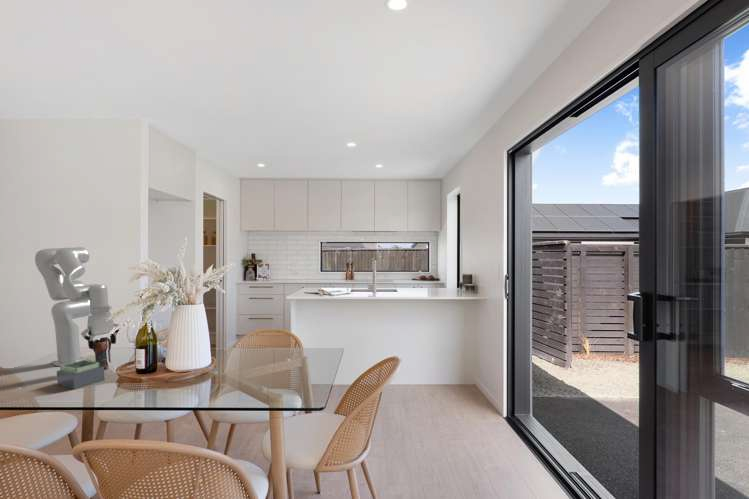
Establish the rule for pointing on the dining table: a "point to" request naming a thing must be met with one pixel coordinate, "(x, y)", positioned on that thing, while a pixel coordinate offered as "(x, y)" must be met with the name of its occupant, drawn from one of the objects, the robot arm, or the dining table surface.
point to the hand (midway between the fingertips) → (102, 346)
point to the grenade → (102, 351)
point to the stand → (80, 374)
